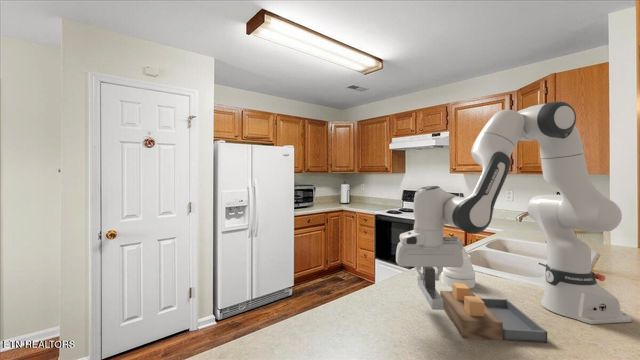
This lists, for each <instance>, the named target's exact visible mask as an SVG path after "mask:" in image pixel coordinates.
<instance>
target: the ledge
mask: <svg viewBox="0 0 640 360" xmlns="http://www.w3.org/2000/svg"><path fill="white" fill-rule="evenodd" d="M439 292H440V293H439V295H440V296H441V297H442V299H443V311H444V312H445V314H446V316H447V317H448V319H449V320H450V321H451V323H452V324H453V325H454V327H455V328H456V330H457V332H458V333H459V334H460V336H461V337H462V339H477V340H495V341H504V340H503V322H502V321H501V320H500V319H499V318H498V317H497V316H496V315H495V314H494V313H493V312H491V311H490V310H489V309H488V308H487V307H486V306H485V305H484V316H470V315H469V314H468V313H467V312H466V310H465V309H464V300H456V299H455V297H454V296H453V295H452V290H440V291H439ZM470 296H475V297H477V295H476V294H474V292H472V291H470Z"/></svg>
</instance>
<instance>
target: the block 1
mask: <svg viewBox="0 0 640 360" xmlns="http://www.w3.org/2000/svg"><path fill="white" fill-rule="evenodd" d="M451 288H452V290H451V291H452V295H453V296H454V297H455V299H456V300H464V296H470V292H471V288H469V287H468V286H467V285H466V284H460V283H452V286H451Z"/></svg>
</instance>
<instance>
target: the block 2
mask: <svg viewBox="0 0 640 360" xmlns="http://www.w3.org/2000/svg"><path fill="white" fill-rule="evenodd" d="M475 296H476V295H475ZM475 296H464V309H465V310H466V312H467V313H468V314H469V315H470V316H484V302H483V301H482V300H481V299H480V298H481V297H479V296H476V297H475Z"/></svg>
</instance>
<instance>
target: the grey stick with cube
mask: <svg viewBox="0 0 640 360" xmlns="http://www.w3.org/2000/svg"><path fill="white" fill-rule="evenodd" d="M422 273H424V275H425V280H420V279H419V275H418V276H417V286H418V287H419V289H420V290H421V293H422V295H423V296H424V298H425V299H426V301H427V302H428V305H429V307H430V308H431V309H432V310H435V311H436V310H437V311H438V310H439V311H441V310H442V311H444V309H443V299H442V297H441V296H440V293H439V291H438V290H437V289H436V280H435V273H436V269H435V267H422Z"/></svg>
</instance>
